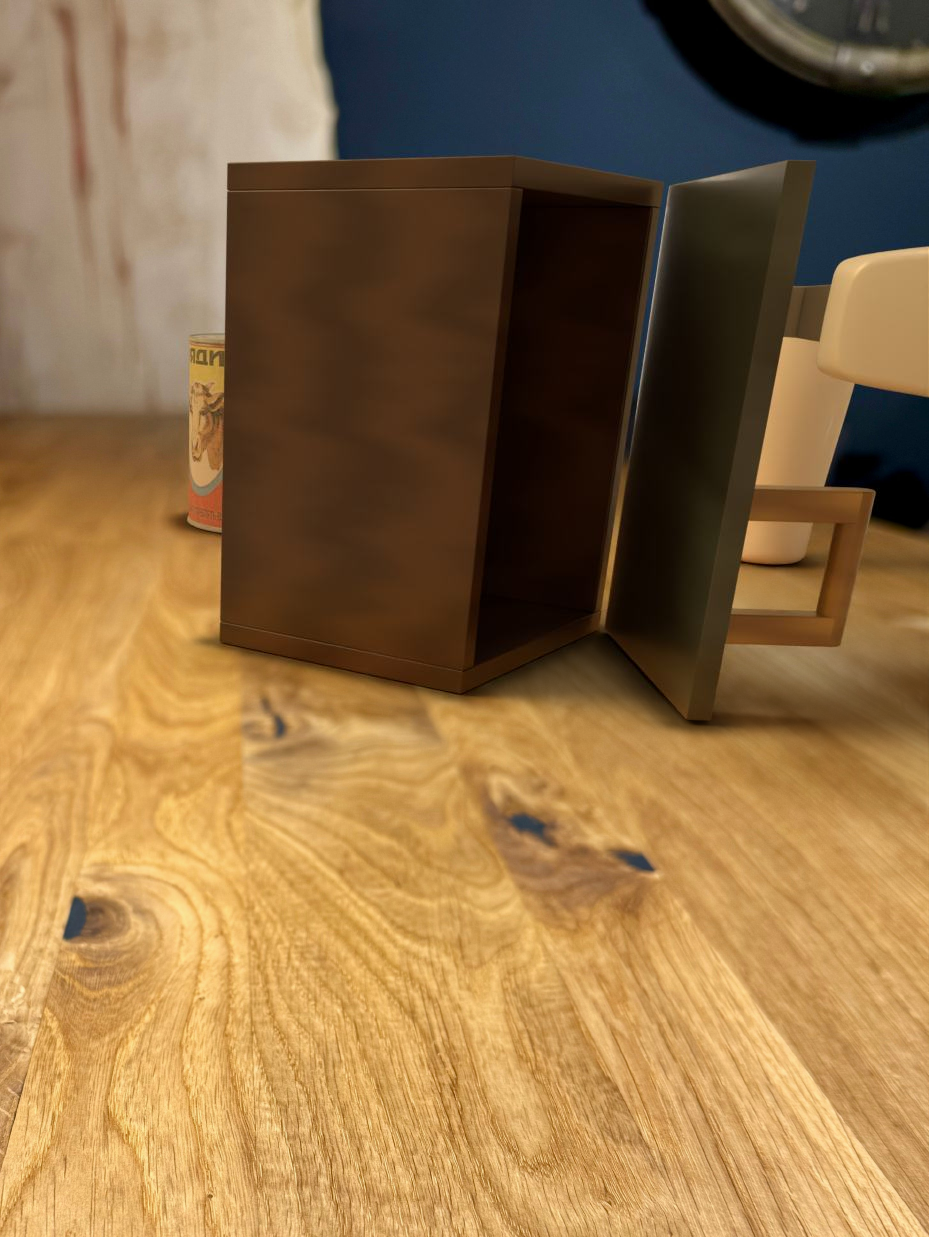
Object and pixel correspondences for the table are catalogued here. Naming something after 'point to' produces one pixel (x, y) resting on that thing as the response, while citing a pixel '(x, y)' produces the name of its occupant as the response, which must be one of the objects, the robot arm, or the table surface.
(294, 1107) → the table surface
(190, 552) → the table surface
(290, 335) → the cupboard
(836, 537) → the cupboard door
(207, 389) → the canned food
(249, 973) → the table surface
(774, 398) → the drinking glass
